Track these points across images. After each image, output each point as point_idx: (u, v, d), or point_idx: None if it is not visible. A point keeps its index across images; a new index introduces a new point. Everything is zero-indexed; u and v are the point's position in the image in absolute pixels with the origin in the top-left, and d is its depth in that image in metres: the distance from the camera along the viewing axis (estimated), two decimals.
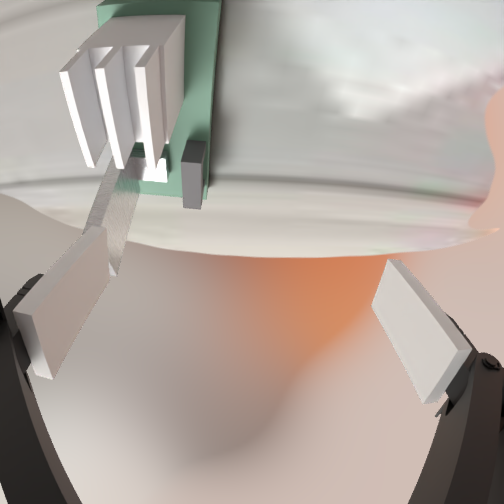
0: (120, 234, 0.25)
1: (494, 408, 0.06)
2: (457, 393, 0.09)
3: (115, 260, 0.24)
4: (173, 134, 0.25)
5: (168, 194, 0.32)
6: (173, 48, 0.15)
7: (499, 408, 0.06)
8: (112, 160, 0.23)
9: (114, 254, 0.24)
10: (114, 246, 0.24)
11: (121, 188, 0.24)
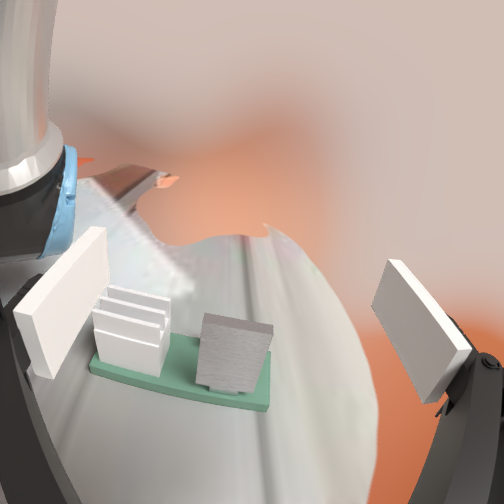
0: None
1: (494, 408, 0.06)
2: (457, 393, 0.09)
3: None
4: None
5: (267, 375, 0.35)
6: None
7: (499, 408, 0.06)
8: None
9: None
10: None
11: None
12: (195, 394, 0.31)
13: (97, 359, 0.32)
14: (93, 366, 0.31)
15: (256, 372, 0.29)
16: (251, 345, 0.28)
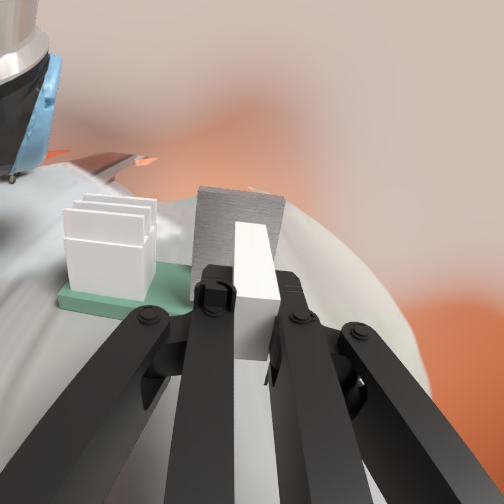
0: None
1: (325, 369, 0.08)
2: (276, 358, 0.10)
3: None
4: None
5: None
6: None
7: (332, 367, 0.08)
8: (191, 279, 0.25)
9: None
10: None
11: None
12: None
13: (67, 288, 0.25)
14: (62, 295, 0.24)
15: None
16: (259, 221, 0.23)
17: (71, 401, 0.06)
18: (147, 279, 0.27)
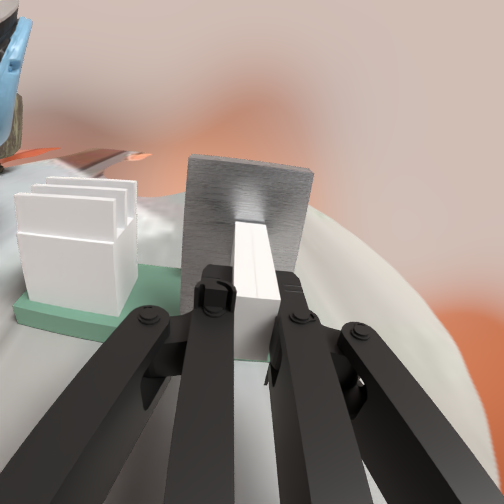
0: None
1: (325, 370, 0.08)
2: (276, 358, 0.10)
3: None
4: None
5: None
6: None
7: (332, 367, 0.08)
8: (181, 285, 0.18)
9: None
10: None
11: None
12: None
13: (26, 298, 0.18)
14: (18, 307, 0.17)
15: None
16: (276, 201, 0.16)
17: (71, 401, 0.06)
18: (124, 287, 0.20)
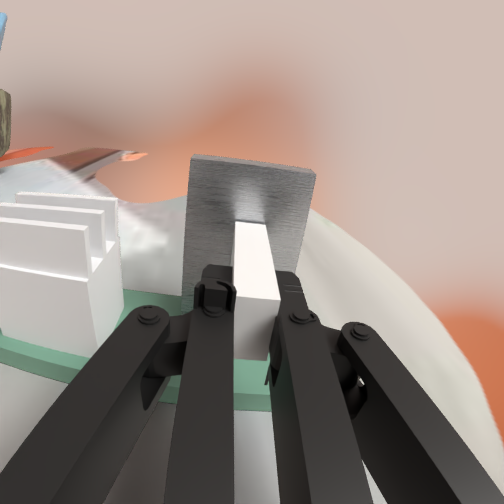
0: None
1: (325, 369, 0.08)
2: (276, 358, 0.10)
3: None
4: None
5: None
6: None
7: (332, 367, 0.08)
8: None
9: None
10: None
11: None
12: (172, 389, 0.15)
13: None
14: None
15: None
16: (279, 202, 0.16)
17: (71, 401, 0.06)
18: (106, 324, 0.16)
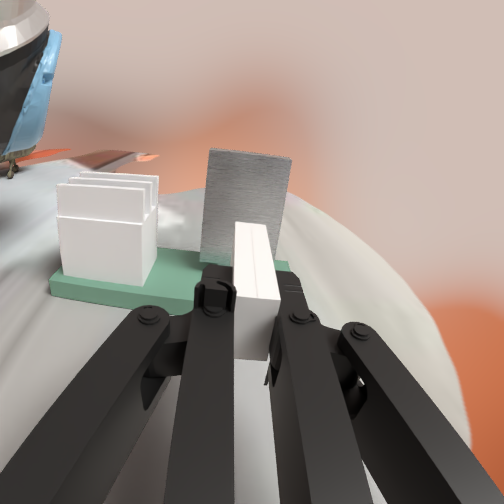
0: None
1: (325, 370, 0.08)
2: (276, 358, 0.10)
3: None
4: (196, 266, 0.28)
5: None
6: None
7: (332, 367, 0.08)
8: (201, 239, 0.25)
9: None
10: None
11: None
12: None
13: (60, 274, 0.23)
14: (54, 281, 0.22)
15: (276, 228, 0.25)
16: (267, 179, 0.23)
17: (71, 401, 0.06)
18: (147, 262, 0.25)
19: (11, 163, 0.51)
